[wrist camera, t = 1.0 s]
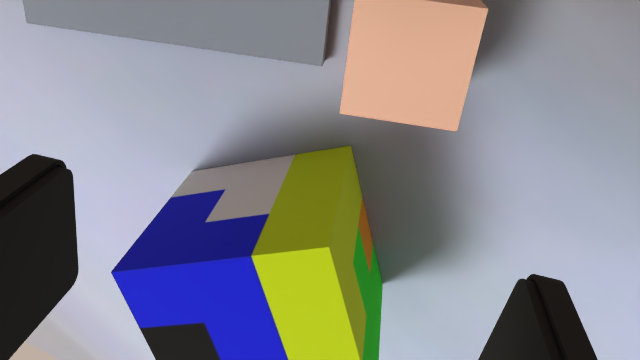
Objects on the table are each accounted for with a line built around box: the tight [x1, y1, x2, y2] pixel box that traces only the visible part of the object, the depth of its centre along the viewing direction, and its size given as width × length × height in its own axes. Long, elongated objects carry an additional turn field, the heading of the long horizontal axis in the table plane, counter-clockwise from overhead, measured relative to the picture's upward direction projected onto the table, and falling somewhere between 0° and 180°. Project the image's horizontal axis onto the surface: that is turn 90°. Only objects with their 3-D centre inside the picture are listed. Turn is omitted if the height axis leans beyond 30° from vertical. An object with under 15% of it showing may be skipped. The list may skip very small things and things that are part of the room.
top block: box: [340, 0, 488, 131], centre depth 23 cm, size 5×5×6 cm
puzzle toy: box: [111, 146, 382, 360], centre depth 28 cm, size 10×10×10 cm
